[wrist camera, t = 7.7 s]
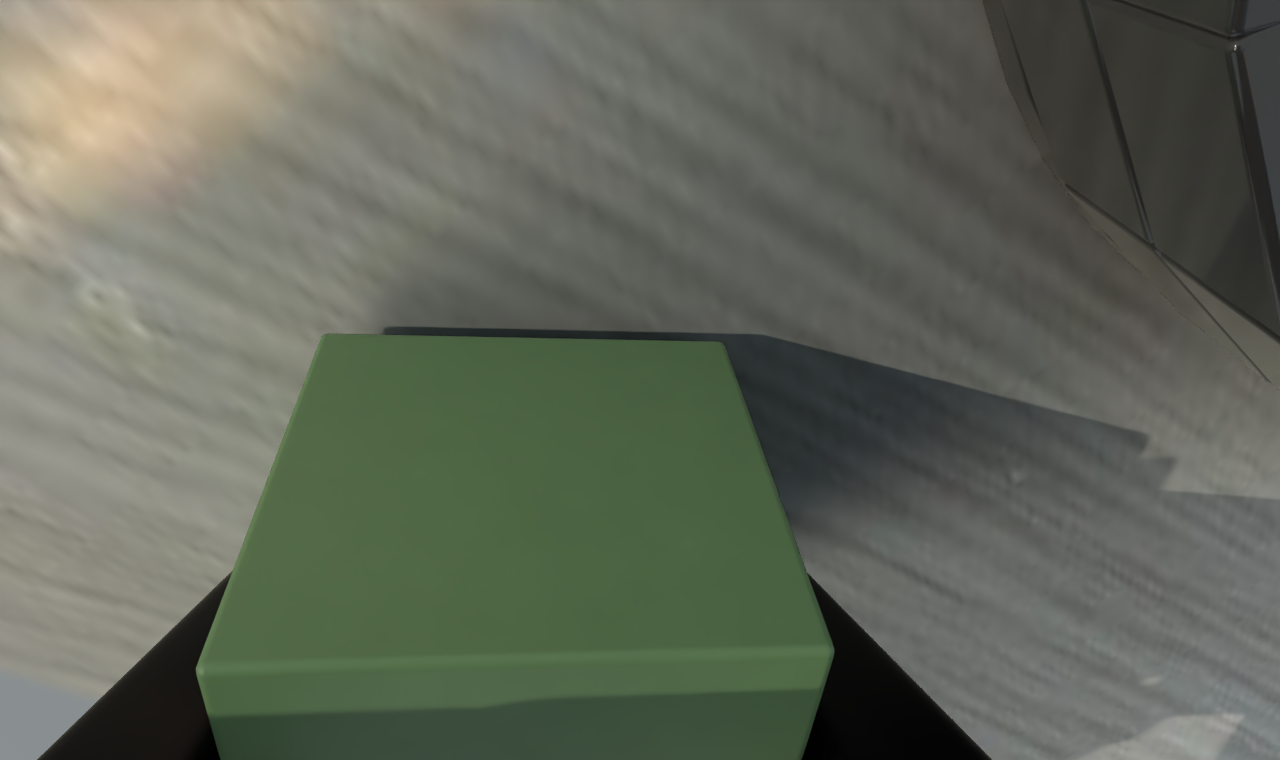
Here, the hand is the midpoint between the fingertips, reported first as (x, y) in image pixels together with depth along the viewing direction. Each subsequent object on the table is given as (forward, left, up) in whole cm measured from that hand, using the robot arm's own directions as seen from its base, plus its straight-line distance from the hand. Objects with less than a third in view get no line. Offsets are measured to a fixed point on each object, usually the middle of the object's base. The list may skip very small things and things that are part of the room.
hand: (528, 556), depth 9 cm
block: (0, 0, -1) cm, 1 cm away
